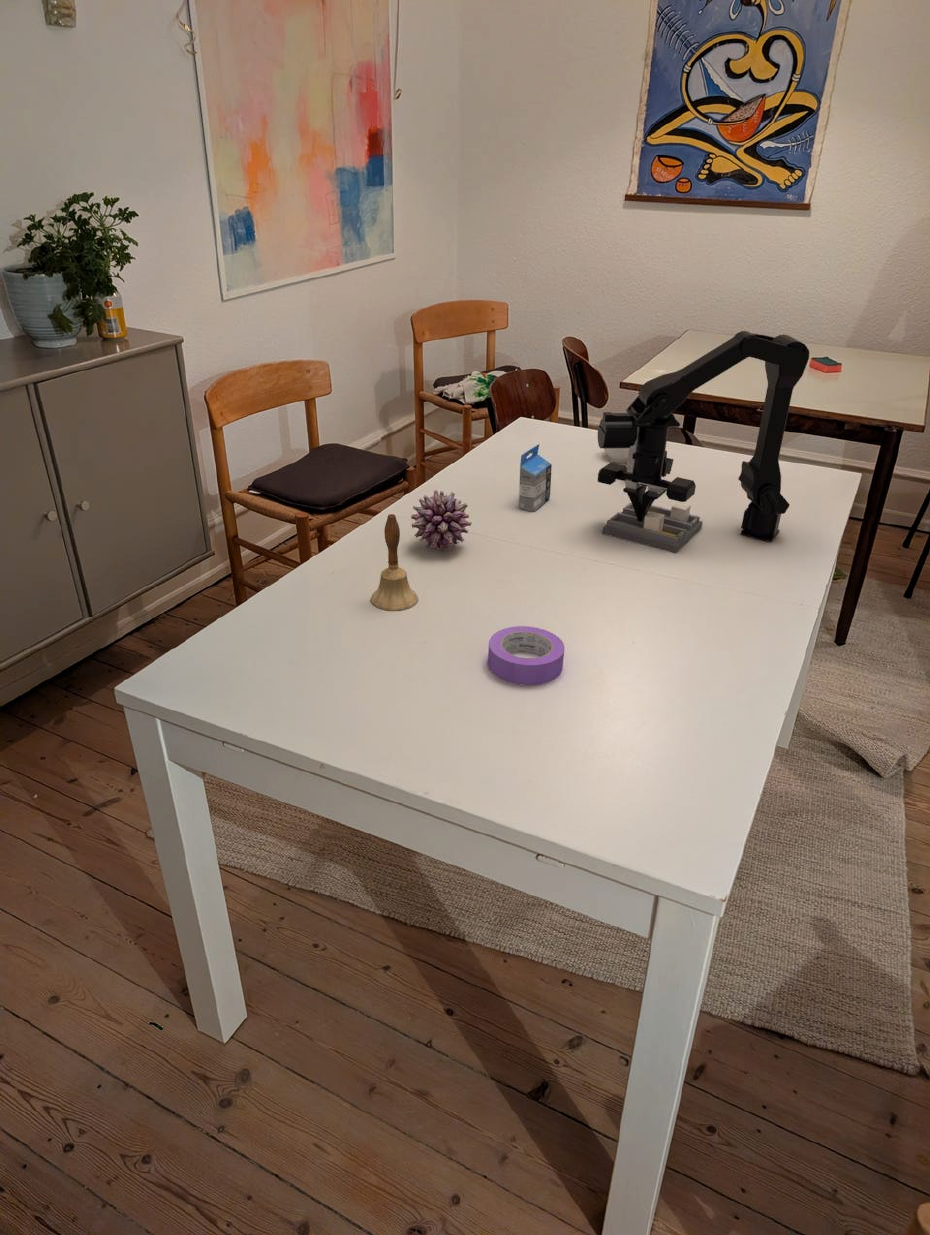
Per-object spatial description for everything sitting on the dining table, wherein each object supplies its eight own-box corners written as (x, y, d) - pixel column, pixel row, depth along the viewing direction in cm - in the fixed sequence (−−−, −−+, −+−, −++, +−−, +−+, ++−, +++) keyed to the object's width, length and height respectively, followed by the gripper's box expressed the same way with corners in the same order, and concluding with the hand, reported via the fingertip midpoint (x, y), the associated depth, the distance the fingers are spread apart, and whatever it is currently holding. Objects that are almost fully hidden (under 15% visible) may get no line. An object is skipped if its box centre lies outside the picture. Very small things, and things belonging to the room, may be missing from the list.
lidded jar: (592, 455, 222) (596, 419, 217) (627, 450, 226) (632, 414, 221) (615, 469, 213) (620, 431, 209) (651, 463, 218) (657, 427, 213)
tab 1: (662, 530, 178) (664, 514, 176) (656, 535, 176) (659, 519, 174) (648, 527, 179) (650, 511, 177) (642, 531, 177) (645, 516, 175)
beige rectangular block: (688, 520, 183) (690, 505, 181) (683, 525, 180) (685, 509, 179) (674, 517, 184) (676, 502, 182) (669, 522, 182) (671, 506, 180)
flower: (464, 564, 166) (466, 506, 160) (403, 557, 168) (402, 499, 162) (476, 539, 176) (478, 484, 170) (418, 533, 177) (418, 478, 172)
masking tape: (517, 637, 143) (518, 617, 142) (577, 663, 137) (579, 642, 135) (472, 666, 135) (473, 645, 134) (533, 695, 129) (535, 673, 127)
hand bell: (375, 613, 149) (372, 527, 141) (366, 591, 155) (364, 508, 148) (422, 608, 151) (423, 523, 143) (412, 586, 158) (412, 504, 150)
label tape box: (533, 512, 188) (537, 458, 182) (516, 508, 190) (520, 454, 184) (550, 499, 195) (554, 446, 189) (533, 496, 197) (537, 443, 191)
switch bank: (701, 528, 184) (703, 516, 182) (676, 553, 173) (678, 540, 171) (630, 510, 191) (632, 498, 190) (602, 533, 180) (603, 521, 179)
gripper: (710, 445, 172) (698, 519, 180) (623, 428, 180) (614, 498, 188) (691, 461, 164) (678, 537, 172) (600, 442, 172) (592, 515, 180)
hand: (640, 521), depth 178 cm, fingers closed
